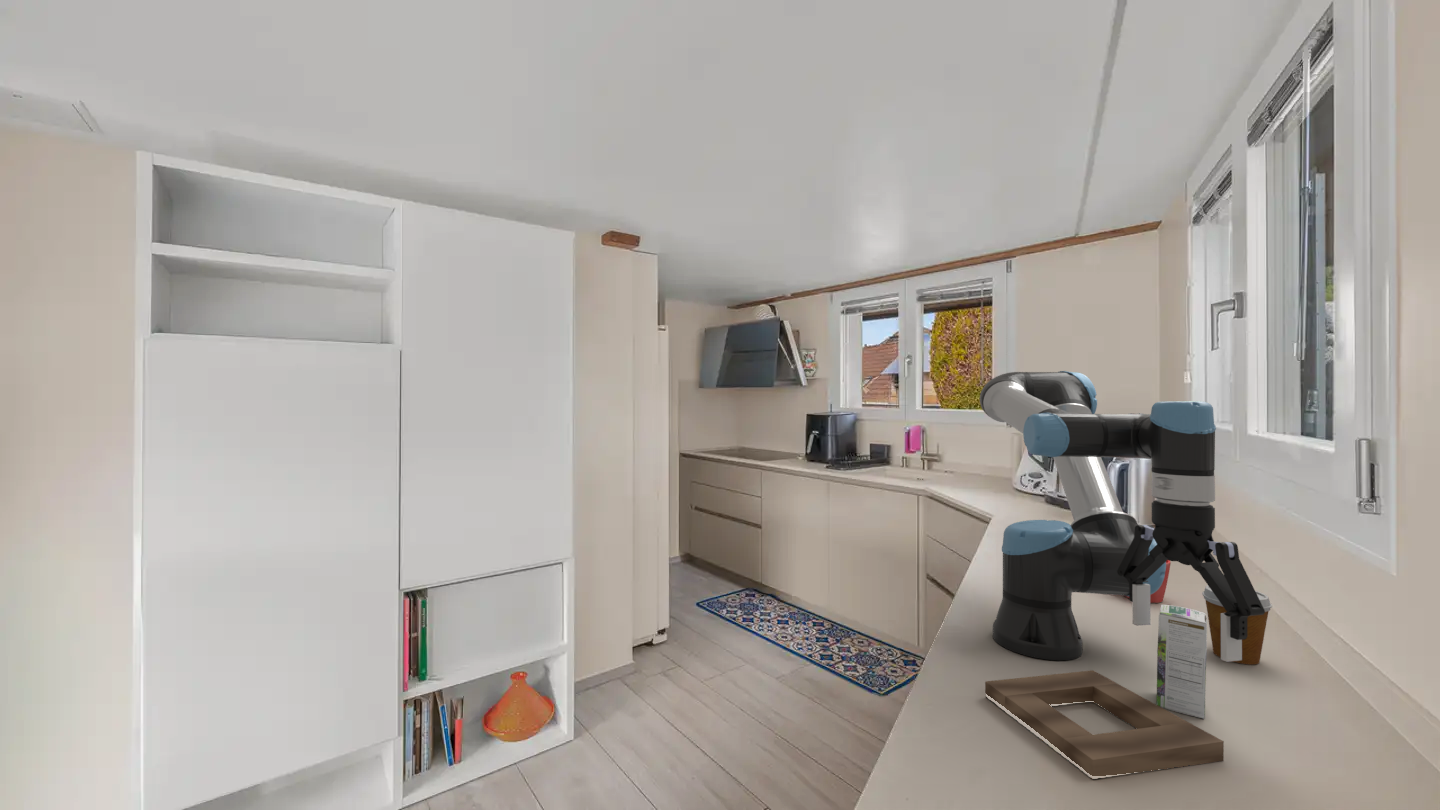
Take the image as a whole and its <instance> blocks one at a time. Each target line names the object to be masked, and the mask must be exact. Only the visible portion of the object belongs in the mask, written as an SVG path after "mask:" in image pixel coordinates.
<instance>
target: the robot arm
mask: <svg viewBox="0 0 1440 810" xmlns="http://www.w3.org/2000/svg"><path fill="white" fill-rule="evenodd" d="M1096 396H1097V391H1096V387H1095V384H1093V382H1092V380H1091V379H1090V377H1088V376H1086V375H1085V374H1083V373H1082V372H1077V371H1075V372H1074V371H1067V370H1060V371H1012V372H1011V371H1010V372H1006V373H1001V374H1000V375H997V376H995V377H993V378H992V379H990V380H989V381H988V382H986V383H985V385H984V386H983V388H982V389H981V392H980V395H979V403H980V408H981V409H982V411H983V412H984V413H985V414H986V415H987V416H988V417H989V418H991V419H992V420H993V421H997V422H998V423H1005V424H1008V425H1009V426H1011V427H1012V428H1013V429H1015V430H1016V431H1018V432H1020V433H1021V434H1023V435H1022V436H1023V443H1024V445H1025V446H1026V450H1027V452H1028V453H1029V454H1031V455H1033V456H1040V457H1041V456H1042V457H1048V458H1053V460H1054V464H1055V467H1056V470H1057V473H1058V476H1059V479H1060V483H1061V486H1062V488H1063V489H1062V490H1063V492H1064V494H1065V495H1064V496H1065V498H1066V500H1067V503H1068V507H1069V510H1070V512H1071V515H1072V519H1073V522H1071V524H1070V523H1068V522H1067V521H1066V522H1065V521H1061V520H1057V519H1056V520H1055V519H1054V520H1053V519H1051V520H1047V519H1029V520H1022V521H1017V522H1013V523H1011V524H1009V525H1008V526H1007V527H1006V528H1005V529H1004V531H1003V536H1002V537H1003V538H1002V545H1001V552H1002V599H1001V602H1000V605H999V608H998V611H997V614H996V617H995V620H994V621H993V623H992V639H993V640H994V641H995V642H996V643H997V644H998V645H1000V646H1001V647H1003V648H1005V649H1007V650H1009V651H1012V652H1014V653H1016V654H1020V655H1023V656H1027V657H1030V658H1035V659H1042V660H1049V661H1068V660H1076V659H1077V658H1079V657H1081V656H1082V654H1083V639H1082V636H1081V634H1080V631H1079V627H1078V625H1077V621H1076V618H1075V615H1074V613H1073V611H1072V594H1073V593H1080V594H1081V593H1082V594H1094V595H1095V594H1098V595H1111V596H1112V595H1113V596H1114V595H1115V596H1116V595H1117V596H1124V595H1125V596H1129V598H1130V599H1129V598H1128V599H1129V601H1130V602H1132V625H1134V626H1138V627H1139V626H1149V625H1151V603H1150V595H1151V594H1153V593H1155V592H1156V591H1157V590H1158V589H1159V588H1160V586H1161V585H1162V583H1163V580H1164V577H1165V571H1166V561H1167V560H1169V561H1170V562H1178V563H1180V564H1182V565H1185V566H1190V567H1192V568H1193V570H1194V571H1196V572H1198V573H1199V574H1200V576H1201V577H1202V579H1203V580H1204V582H1205V583H1206V585H1208V586H1209V587H1210V589H1211V590H1212V591H1213V593H1214V594H1215V596H1216V597H1217V598H1218V600H1219V601H1220V603H1221V604H1222V605H1223V607H1224V608H1225V610H1226V611H1227V612H1226V613H1221V657H1220V660H1221V661H1223V662H1227V663H1228V662H1232V661H1240V660H1242V639H1246V638H1247V618H1248V616H1255V615H1263V614H1264V613H1265V610H1264V608H1263V606H1262V604H1261V602H1260V600H1259V598H1258V596H1257V594H1256V592H1255V591H1256V590H1255V588H1254V586H1253V584H1252V581H1251V580H1250V578H1249V576H1248V573H1247V571H1246V569H1245V568H1244V566H1243V563H1242V562H1241V559H1240V554H1239V553H1240V552H1239V547H1238V544H1237V543H1236V542H1234V541H1223V542H1222V541H1214V537H1213V532H1214V530H1215V528H1216V508H1215V507H1214V506H1213V505H1212V504H1211V503H1214V502H1215V501H1216V481H1215V479H1216V478H1215V477H1216V475H1215V469H1216V466H1215V463H1216V462H1215V458H1216V457H1215V456H1216V455H1215V454H1216V453H1215V451H1216V430H1217V427H1216V426H1217V425H1216V424H1215V415H1214V407H1213V405H1212V404H1211V403H1209V402H1208V401H1201V400H1200V401H1198V400H1196V401H1189V400H1188V401H1184V400H1182V401H1181V400H1180V401H1179V400H1178V401H1177V400H1176V401H1174V400H1173V401H1172V400H1171V401H1157V402H1155V403H1153V405H1152V407H1151V409H1150V413H1148V414H1147V413H1139V412H1138V413H1096V411H1097V408H1098V399H1097V398H1096ZM1102 458H1119V459H1121V458H1122V459H1124V458H1126V459H1127V458H1129V459H1131V458H1132V459H1148V460H1149V459H1150V460H1151V496H1152V497H1153V498H1155V499H1156V500H1153V502H1151V522H1152V524H1153V525H1152V524H1141V525H1140V524H1138V521H1137V520H1136V518H1135V516H1133V515H1131V514H1129V513H1126V512H1124V511H1123V509H1122V507H1121V504H1120V501H1119V498H1118V496H1117V493H1116V491H1115V489H1114V486H1113V483H1112V481H1111V478H1110V476H1109V473H1108V471H1107V468H1106V465H1105V463H1104V461H1103V459H1102ZM1213 555H1214V556H1215V557H1216V559H1217V560H1216V559H1215V557H1214V556H1213ZM1125 596H1124V597H1125Z"/></svg>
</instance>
